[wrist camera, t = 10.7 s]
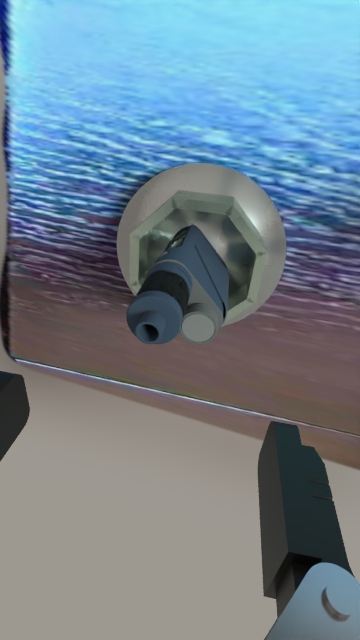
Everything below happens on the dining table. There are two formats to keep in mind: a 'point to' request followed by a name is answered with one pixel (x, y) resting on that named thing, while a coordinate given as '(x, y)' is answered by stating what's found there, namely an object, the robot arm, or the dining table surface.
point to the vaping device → (182, 292)
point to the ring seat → (207, 229)
